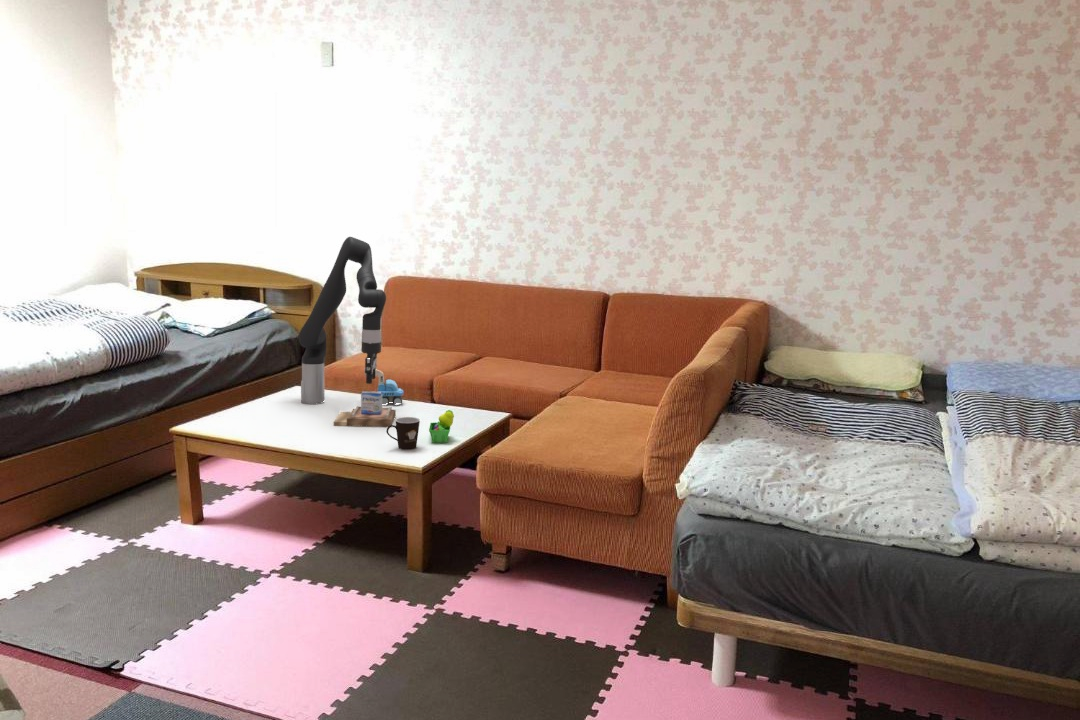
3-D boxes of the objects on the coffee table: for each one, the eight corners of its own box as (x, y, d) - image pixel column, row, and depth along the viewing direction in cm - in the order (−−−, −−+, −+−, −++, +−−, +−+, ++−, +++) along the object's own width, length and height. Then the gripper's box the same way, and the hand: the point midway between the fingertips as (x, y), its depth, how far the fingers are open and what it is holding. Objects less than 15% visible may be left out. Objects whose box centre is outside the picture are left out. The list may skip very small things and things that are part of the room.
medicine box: (360, 414, 332) (360, 392, 331) (362, 411, 337) (362, 390, 335) (381, 414, 333) (381, 393, 331) (382, 412, 337) (382, 391, 336)
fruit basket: (430, 435, 319) (430, 406, 316) (453, 435, 319) (454, 406, 317) (428, 443, 307) (429, 413, 305) (453, 444, 308) (453, 414, 306)
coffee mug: (419, 443, 307) (419, 417, 305) (419, 450, 298) (420, 423, 297) (386, 443, 305) (387, 417, 303) (386, 450, 297) (386, 423, 295)
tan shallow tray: (333, 425, 326) (333, 415, 326) (340, 415, 342) (340, 405, 341) (390, 427, 328) (391, 416, 327) (395, 416, 343) (395, 406, 343)
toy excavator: (364, 401, 367) (364, 363, 364) (403, 401, 370) (403, 363, 367) (363, 406, 359) (364, 366, 356) (403, 406, 362) (404, 367, 359)
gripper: (364, 337, 336) (364, 377, 339) (358, 343, 322) (358, 384, 325) (383, 338, 336) (382, 377, 339) (378, 343, 322) (377, 385, 325)
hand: (370, 381), depth 332 cm, fingers open, 8 cm apart
